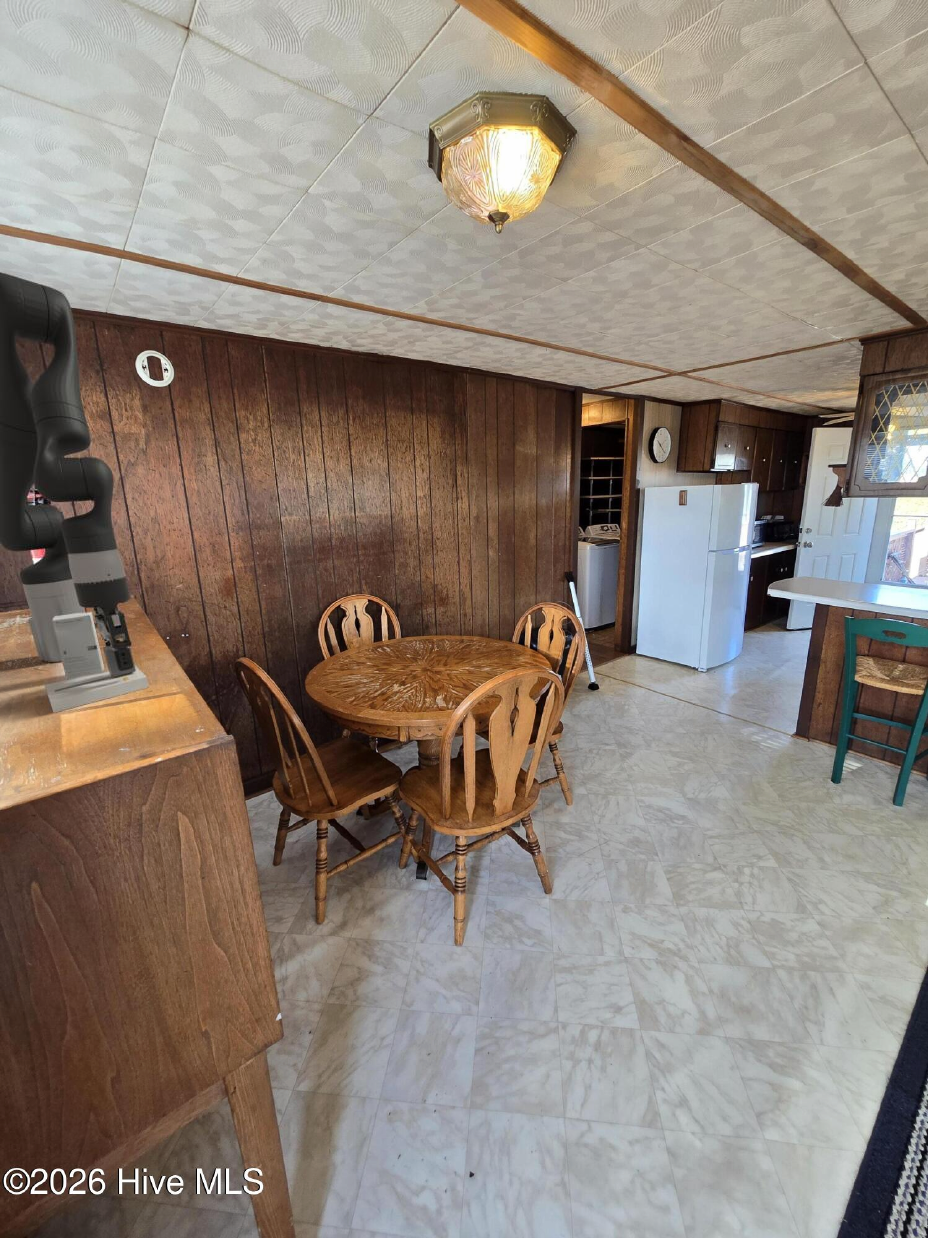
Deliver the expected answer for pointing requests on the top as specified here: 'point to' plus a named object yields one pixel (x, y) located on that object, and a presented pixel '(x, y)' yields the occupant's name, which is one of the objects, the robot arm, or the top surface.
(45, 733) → the top surface
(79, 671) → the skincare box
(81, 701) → the fader console
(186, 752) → the top surface
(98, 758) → the top surface
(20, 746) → the top surface
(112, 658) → the fader knob
